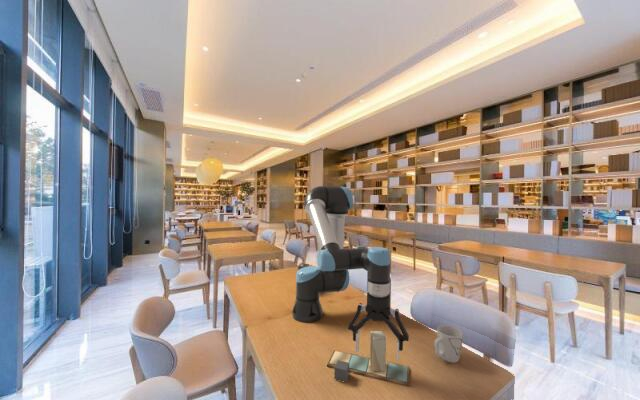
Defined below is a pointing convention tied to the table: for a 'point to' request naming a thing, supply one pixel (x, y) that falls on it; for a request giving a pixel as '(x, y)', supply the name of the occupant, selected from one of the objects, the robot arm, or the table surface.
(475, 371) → the table surface
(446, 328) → the mug
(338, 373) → the cube
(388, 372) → the track
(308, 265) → the coffee box
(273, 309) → the table surface
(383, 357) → the box
